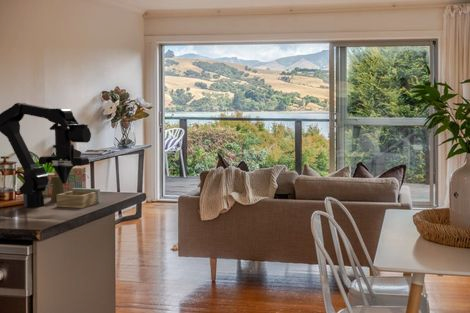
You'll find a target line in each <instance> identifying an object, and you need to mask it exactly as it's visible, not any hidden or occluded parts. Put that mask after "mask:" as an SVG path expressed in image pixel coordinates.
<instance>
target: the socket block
mask: <svg viewBox="0 0 470 313" xmlns="http://www.w3.org/2000/svg"><path fill="white" fill-rule="evenodd" d="M56 196H57V202H56V207H58V208H59V207H60V208H77V209H78V208H79V209H83V208H86V207H89V206H93V205H96V204H98V203H97V192H89V191H69V192H66V193H62V194H58V195H56Z"/></svg>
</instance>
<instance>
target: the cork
mask: <svg viewBox="0 0 470 313" xmlns="http://www.w3.org/2000/svg"><path fill="white" fill-rule="evenodd" d="M51 183H52V184H53V185H52V195H50V201H51V202H54V203H57V196H56V195H58V194H62V193H64V187H63V183H62V181H61V180H60V178H59V176H53V177H52V178H51Z"/></svg>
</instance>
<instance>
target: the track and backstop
mask: <svg viewBox="0 0 470 313" xmlns="http://www.w3.org/2000/svg"><path fill="white" fill-rule="evenodd" d="M71 190H72V191H89V192H97V203H96V204H100V203H101V189H100V188H87V187H86V188H71Z"/></svg>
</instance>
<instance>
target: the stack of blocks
mask: <svg viewBox="0 0 470 313" xmlns="http://www.w3.org/2000/svg"><path fill="white" fill-rule="evenodd" d="M86 169H87V168H86V166H75V167H73V168H72V169H71V171H70V173H69V176H68V179H67V182H66V184H63V187H64V193H66V192H69V191H72V190H71V188H87V181H86V180H87V174H86V172H87V170H86ZM53 170H54V172H46V173H47V174H48V176H47V177H48V180H49V181H48V184H47V186H46V188H45V191H42V194H43V196H51V195H52V185H53V184H52V183H51V178H52V177H53V176H58V174H57V172H56V171H55V169H54V168H53Z"/></svg>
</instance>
